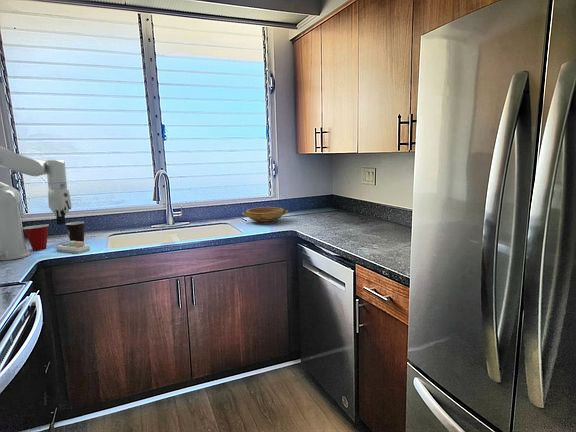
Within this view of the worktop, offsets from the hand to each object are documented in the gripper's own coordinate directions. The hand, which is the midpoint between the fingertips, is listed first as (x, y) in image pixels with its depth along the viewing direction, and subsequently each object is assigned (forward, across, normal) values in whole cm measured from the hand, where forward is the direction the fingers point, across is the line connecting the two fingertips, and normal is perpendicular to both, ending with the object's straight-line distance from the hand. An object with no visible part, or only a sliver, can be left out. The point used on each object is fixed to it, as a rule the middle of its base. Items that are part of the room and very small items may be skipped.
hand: (61, 224), depth 177 cm
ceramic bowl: (+9, -66, -89) cm, 111 cm away
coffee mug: (+13, +9, -14) cm, 21 cm away
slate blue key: (+11, -1, -1) cm, 12 cm away
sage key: (+10, -6, -1) cm, 12 cm away
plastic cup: (+13, +15, +2) cm, 20 cm away
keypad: (+13, -6, -1) cm, 14 cm away
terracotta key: (+10, -10, -1) cm, 14 cm away
